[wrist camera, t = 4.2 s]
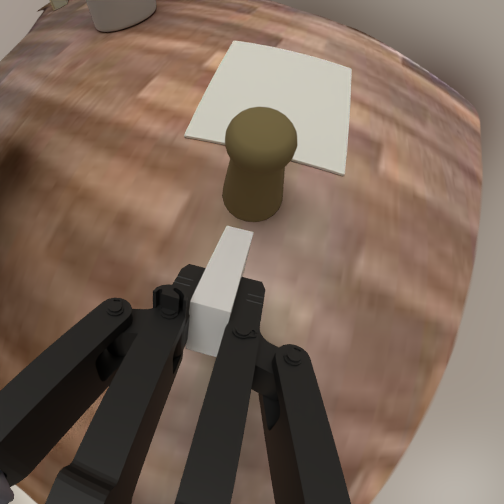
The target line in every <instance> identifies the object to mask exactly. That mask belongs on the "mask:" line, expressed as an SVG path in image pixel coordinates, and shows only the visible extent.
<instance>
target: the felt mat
mask: <svg viewBox="0 0 504 504" xmlns="http://www.w3.org/2000/svg"><path fill="white" fill-rule="evenodd" d="M350 97H351V68H348V67H345V66H342V65H339V64H336V63H333V62H329V61H326V60H323V59H319V58H316V57H312V56H309V55H305V54H301V53H297V52H293V51H289V50H284V49H280V48H275V47H270V46H265V45H259V44H254V43H248V42H241V41H233V43H232V44H231V46H230V48H229V50H228V51H227V53H226V55H225V57H224V58H223V60H222V62H221V64H220V65H219V67H218V69H217V71H216V73H215V74H214V76H213V78H212V80H211V82H210V84H209V86H208V88H207V90H206V92H205V93H204V95H203V97H202V99H201V101H200V103H199V105H198V107H197V109H196V111H195V114H194V116H193V118H192V120H191V122H190V124H189V126H188V128H187V130H186V133H185V135H184V137H185V138H190V139H196V140H202V141H207V142H212V143H217V144H222V145H225V135H226V130H227V127H228V125H229V124H230V122H231V120H232V119H233V118H234V117H235V116H236V115H238V114H239V113H240V112H242V111H244V110H246V109H248V108H252V107H269V108H272V109H275V110H278V111H279V112H281V113H283V114H284V115H286V116H287V118H288V119H289V120H290V121H291V122H292V123H293V125H294V127H295V130H296V132H297V149H296V151H295V154H294V156H293V159H292V160H291V161H293V162H297V163H301V164H304V165H308V166H311V167H315V168H318V169H321V170H325V171H328V172H331V173H334V174H338V175H341V176H344V174H345V164H346V154H347V143H348V130H349V115H350Z"/></svg>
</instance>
